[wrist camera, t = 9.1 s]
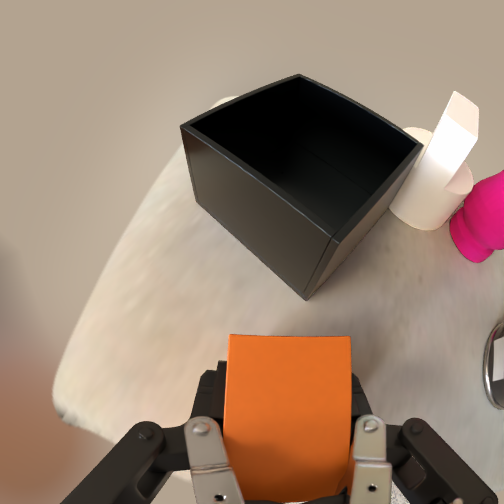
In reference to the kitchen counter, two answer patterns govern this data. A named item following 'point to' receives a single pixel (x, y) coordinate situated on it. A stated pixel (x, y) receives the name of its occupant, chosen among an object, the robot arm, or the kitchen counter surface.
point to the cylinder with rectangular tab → (439, 168)
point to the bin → (297, 174)
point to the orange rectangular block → (288, 415)
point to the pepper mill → (481, 220)
